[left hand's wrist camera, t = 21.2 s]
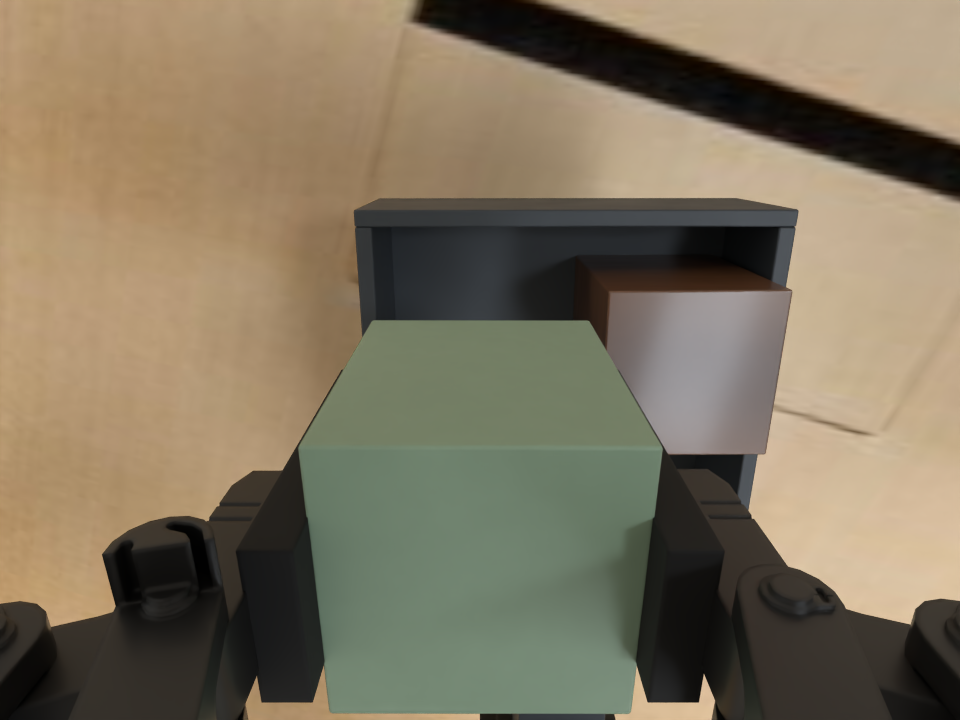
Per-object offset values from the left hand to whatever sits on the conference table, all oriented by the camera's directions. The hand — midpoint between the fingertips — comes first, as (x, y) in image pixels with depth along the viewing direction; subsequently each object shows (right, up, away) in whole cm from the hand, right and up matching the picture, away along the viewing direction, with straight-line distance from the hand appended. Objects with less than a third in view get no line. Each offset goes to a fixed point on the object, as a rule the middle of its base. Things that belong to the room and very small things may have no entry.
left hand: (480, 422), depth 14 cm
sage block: (0, 0, 0) cm, 0 cm away
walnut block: (+6, +3, +8) cm, 11 cm away
